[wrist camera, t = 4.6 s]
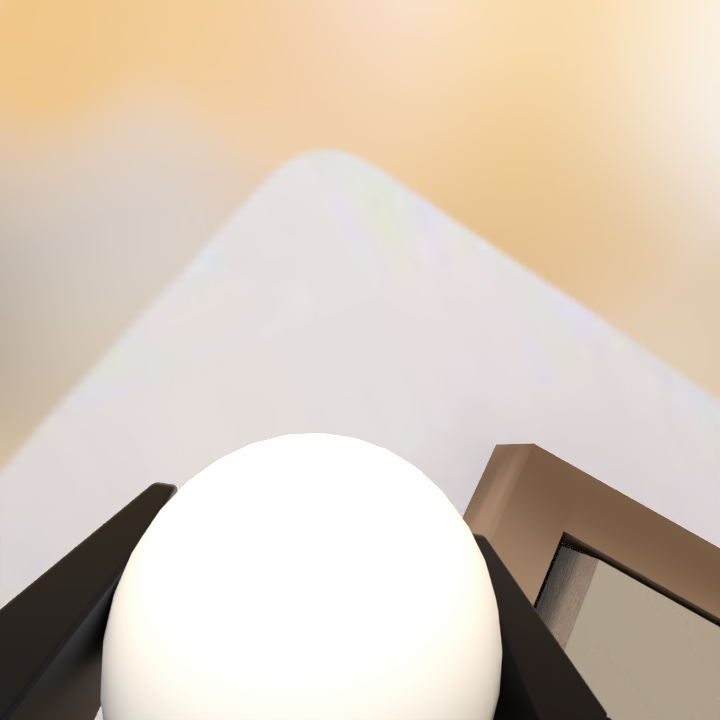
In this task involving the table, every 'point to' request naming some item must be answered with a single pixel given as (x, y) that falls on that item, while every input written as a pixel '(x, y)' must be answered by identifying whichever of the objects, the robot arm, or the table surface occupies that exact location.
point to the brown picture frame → (586, 529)
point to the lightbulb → (304, 595)
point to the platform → (632, 642)
